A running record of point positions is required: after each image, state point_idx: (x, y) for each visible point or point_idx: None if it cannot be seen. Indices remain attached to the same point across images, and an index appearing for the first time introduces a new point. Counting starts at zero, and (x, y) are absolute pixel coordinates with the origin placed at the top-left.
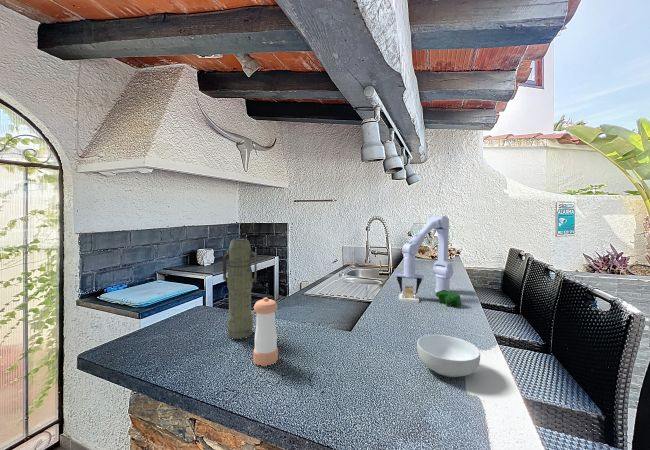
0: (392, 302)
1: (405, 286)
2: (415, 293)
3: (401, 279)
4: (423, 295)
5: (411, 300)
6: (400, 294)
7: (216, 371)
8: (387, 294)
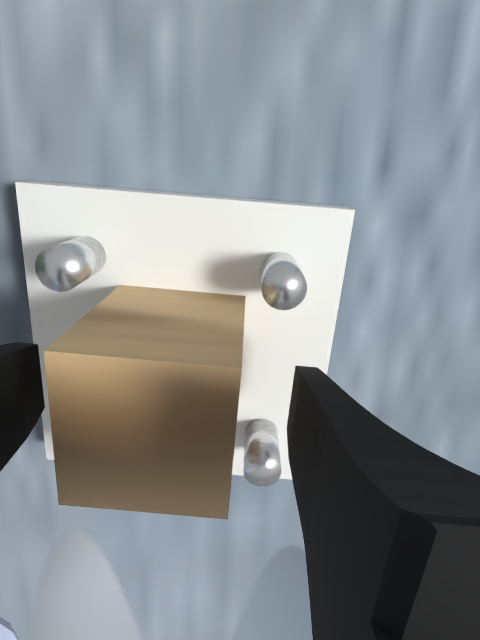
0: (463, 73)
1: (223, 489)
2: None
3: (398, 594)
4: (13, 518)
5: (142, 190)
6: None
7: None
8: None
